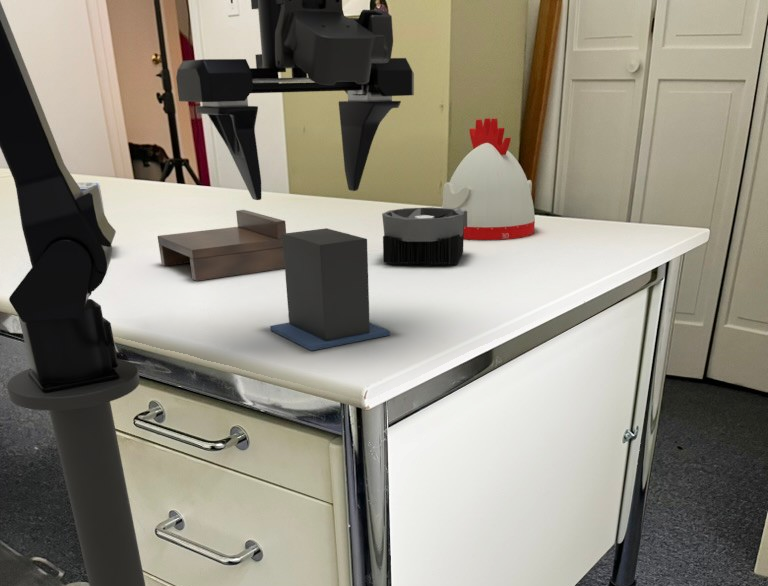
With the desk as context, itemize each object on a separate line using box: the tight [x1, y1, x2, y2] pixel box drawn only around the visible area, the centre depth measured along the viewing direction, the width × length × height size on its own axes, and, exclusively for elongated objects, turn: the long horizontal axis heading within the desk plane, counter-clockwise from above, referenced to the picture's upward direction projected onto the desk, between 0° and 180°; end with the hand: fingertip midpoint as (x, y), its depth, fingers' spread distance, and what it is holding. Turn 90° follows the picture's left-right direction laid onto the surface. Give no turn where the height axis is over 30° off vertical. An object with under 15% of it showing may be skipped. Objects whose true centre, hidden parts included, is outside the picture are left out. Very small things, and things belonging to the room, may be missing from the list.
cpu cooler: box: [381, 206, 467, 266], centre depth 100 cm, size 10×6×10 cm
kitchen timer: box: [441, 117, 536, 241], centre depth 115 cm, size 14×14×15 cm
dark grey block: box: [282, 227, 371, 341], centre depth 71 cm, size 4×7×8 cm, turn 33°
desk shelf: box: [157, 209, 287, 282], centre depth 99 cm, size 12×12×6 cm
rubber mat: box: [269, 322, 391, 352], centre depth 73 cm, size 8×8×1 cm
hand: (306, 194), depth 69 cm, fingers open, 9 cm apart
